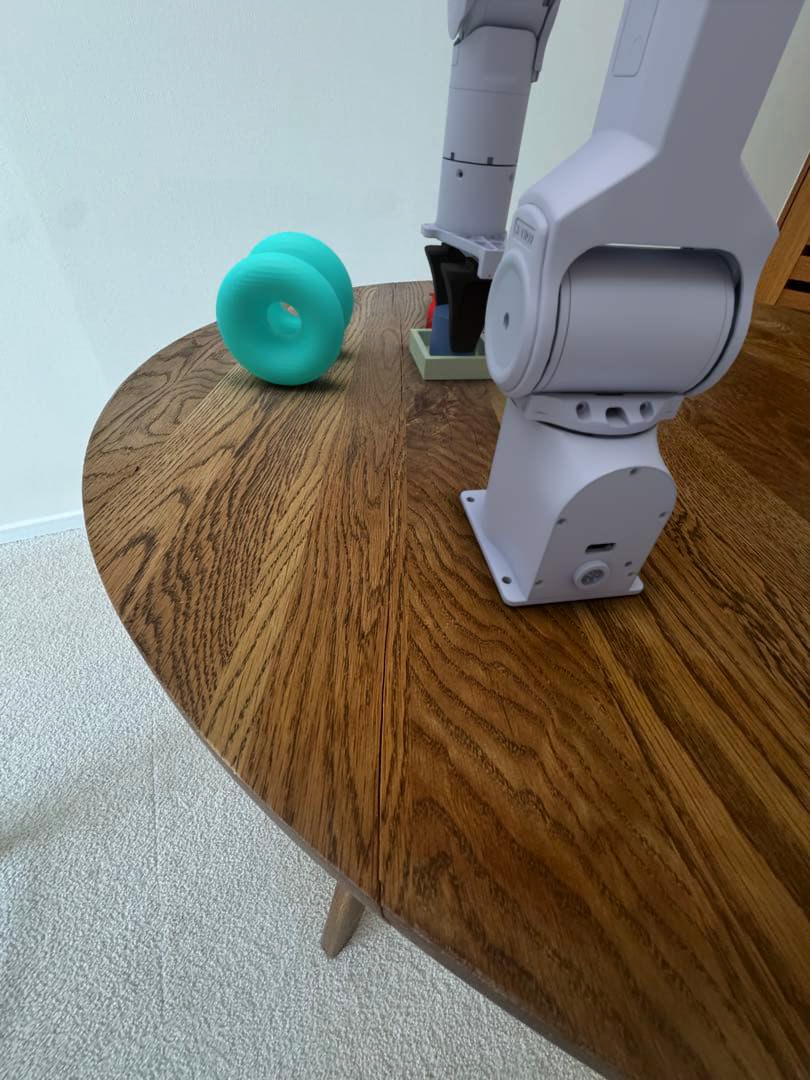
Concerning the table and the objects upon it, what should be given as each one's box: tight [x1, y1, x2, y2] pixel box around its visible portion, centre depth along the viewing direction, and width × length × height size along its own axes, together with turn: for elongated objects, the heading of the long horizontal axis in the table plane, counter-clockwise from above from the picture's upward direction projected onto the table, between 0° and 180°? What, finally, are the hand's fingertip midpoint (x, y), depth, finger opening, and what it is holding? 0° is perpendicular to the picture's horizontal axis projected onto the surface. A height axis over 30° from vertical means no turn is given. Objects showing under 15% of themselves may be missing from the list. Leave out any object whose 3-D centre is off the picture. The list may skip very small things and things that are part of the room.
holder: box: [408, 328, 493, 381], centre depth 48 cm, size 7×7×2 cm
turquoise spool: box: [215, 231, 355, 386], centre depth 42 cm, size 10×10×10 cm
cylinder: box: [429, 304, 477, 356], centre depth 47 cm, size 4×4×4 cm
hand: (454, 340), depth 47 cm, fingers closed on cylinder, 4 cm apart
